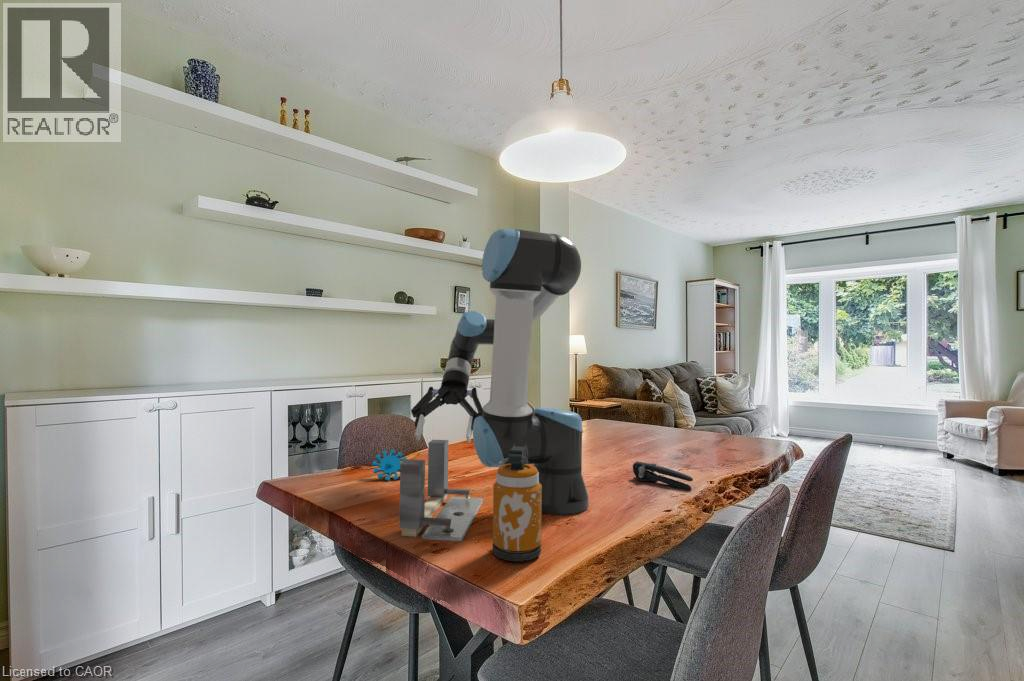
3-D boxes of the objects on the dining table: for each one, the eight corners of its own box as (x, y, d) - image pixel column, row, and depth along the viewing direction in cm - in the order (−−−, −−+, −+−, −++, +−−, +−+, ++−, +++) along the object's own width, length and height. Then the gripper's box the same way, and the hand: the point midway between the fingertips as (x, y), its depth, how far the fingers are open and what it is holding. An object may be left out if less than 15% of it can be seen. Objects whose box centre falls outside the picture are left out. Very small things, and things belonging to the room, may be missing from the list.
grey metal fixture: (433, 496, 123) (434, 439, 123) (472, 498, 122) (473, 440, 122) (399, 535, 97) (400, 463, 98) (447, 538, 96) (448, 465, 96)
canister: (488, 562, 86) (489, 449, 86) (499, 538, 97) (500, 438, 97) (538, 566, 84) (539, 452, 85) (544, 541, 95) (545, 440, 96)
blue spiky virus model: (369, 476, 135) (376, 446, 142) (368, 487, 139) (375, 457, 146) (409, 481, 136) (414, 450, 144) (407, 491, 140) (412, 461, 148)
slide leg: (432, 493, 122) (432, 439, 122) (471, 495, 121) (471, 440, 121) (427, 498, 118) (428, 442, 118) (468, 500, 117) (468, 444, 117)
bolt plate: (451, 499, 121) (451, 496, 121) (482, 501, 120) (483, 497, 120) (422, 539, 96) (422, 534, 96) (461, 541, 95) (461, 537, 95)
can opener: (627, 480, 141) (627, 461, 141) (639, 476, 146) (639, 457, 146) (686, 493, 129) (686, 472, 129) (697, 488, 134) (697, 468, 134)
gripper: (499, 386, 142) (491, 448, 127) (417, 384, 145) (399, 444, 130) (497, 369, 137) (488, 431, 122) (412, 367, 140) (392, 428, 125)
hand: (442, 438), depth 126 cm, fingers open, 13 cm apart
